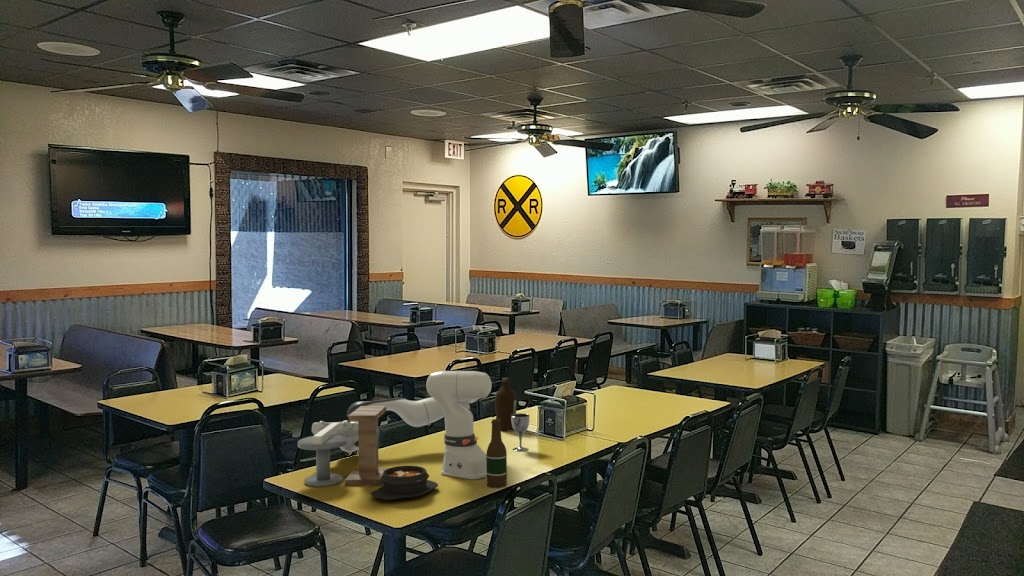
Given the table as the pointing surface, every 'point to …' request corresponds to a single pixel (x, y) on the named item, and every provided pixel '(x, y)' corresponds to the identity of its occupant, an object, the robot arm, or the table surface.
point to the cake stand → (323, 460)
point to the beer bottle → (496, 458)
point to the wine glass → (520, 427)
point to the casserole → (404, 483)
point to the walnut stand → (367, 446)
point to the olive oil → (505, 405)
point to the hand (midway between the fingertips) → (333, 422)
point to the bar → (326, 433)
